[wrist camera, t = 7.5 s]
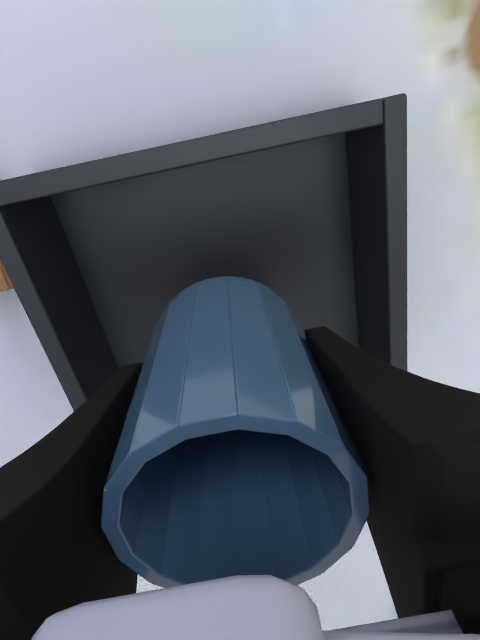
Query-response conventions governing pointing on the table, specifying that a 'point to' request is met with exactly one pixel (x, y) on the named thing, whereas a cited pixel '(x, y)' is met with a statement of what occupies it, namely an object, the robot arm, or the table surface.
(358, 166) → the tub
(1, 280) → the drying rack
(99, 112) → the table surface
